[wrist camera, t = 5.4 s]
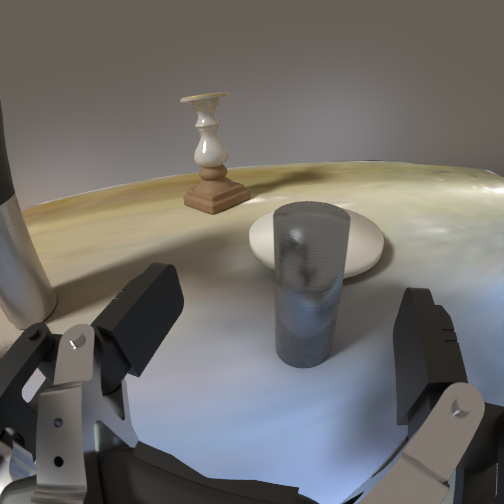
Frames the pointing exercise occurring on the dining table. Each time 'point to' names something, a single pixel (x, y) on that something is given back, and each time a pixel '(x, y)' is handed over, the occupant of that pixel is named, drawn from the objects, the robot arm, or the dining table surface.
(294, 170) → the dining table surface
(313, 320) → the cup
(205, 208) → the candle holder
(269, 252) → the disc
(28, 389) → the dining table surface
